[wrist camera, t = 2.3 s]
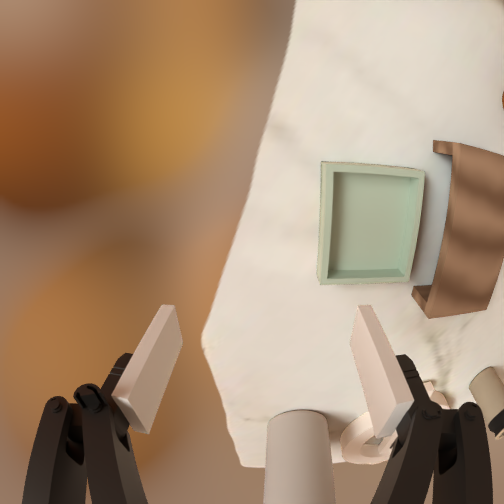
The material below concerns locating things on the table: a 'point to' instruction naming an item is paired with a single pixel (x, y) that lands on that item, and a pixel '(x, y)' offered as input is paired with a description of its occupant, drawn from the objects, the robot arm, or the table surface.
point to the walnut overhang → (468, 234)
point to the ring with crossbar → (363, 431)
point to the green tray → (368, 222)
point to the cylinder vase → (298, 460)
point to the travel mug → (490, 399)
